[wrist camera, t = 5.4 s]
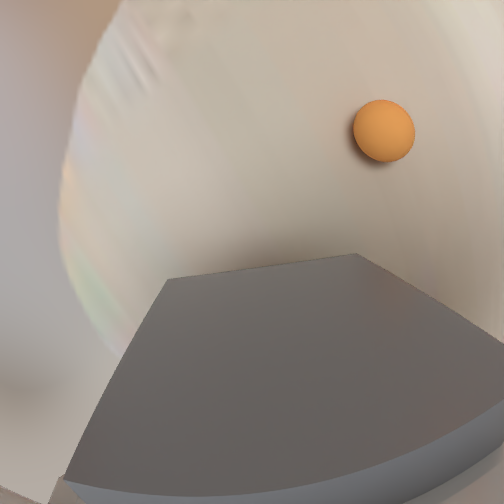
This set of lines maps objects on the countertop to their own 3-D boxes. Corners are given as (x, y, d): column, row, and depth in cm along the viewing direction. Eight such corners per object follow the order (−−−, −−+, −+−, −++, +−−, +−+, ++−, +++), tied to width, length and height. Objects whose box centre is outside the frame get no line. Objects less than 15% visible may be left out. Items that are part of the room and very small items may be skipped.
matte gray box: (356, 253, 11) (540, 369, 3) (351, 395, 13) (427, 533, 4) (167, 279, 11) (62, 479, 2) (204, 419, 12) (199, 583, 4)
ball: (389, 109, 22) (421, 97, 17) (396, 163, 23) (430, 160, 18) (339, 106, 21) (366, 90, 16) (347, 164, 22) (376, 160, 18)
